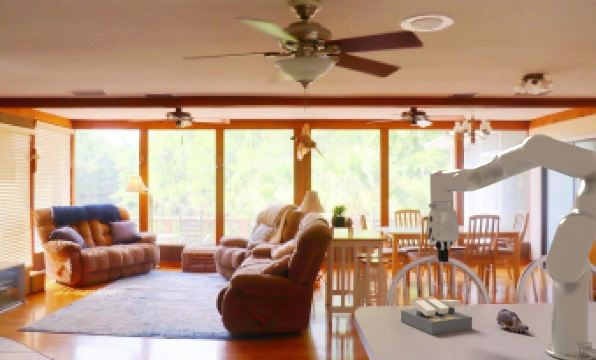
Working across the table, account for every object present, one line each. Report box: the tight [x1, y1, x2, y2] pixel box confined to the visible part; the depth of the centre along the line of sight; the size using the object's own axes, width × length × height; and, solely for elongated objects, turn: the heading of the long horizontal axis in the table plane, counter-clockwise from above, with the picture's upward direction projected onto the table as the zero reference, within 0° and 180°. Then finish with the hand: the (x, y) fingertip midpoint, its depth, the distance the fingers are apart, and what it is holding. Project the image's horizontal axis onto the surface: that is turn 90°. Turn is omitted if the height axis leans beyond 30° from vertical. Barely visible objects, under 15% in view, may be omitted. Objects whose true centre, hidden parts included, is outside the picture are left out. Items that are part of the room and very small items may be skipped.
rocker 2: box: [423, 295, 449, 314], centre depth 181 cm, size 9×4×2 cm, turn 24°
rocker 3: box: [437, 298, 462, 308], centre depth 184 cm, size 9×4×2 cm, turn 24°
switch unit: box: [400, 307, 473, 336], centre depth 181 cm, size 17×17×5 cm
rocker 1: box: [410, 296, 436, 316], centre depth 179 cm, size 9×4×2 cm, turn 25°
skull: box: [495, 308, 530, 334], centre depth 176 cm, size 12×8×6 cm, turn 14°
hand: (443, 261), depth 175 cm, fingers closed
